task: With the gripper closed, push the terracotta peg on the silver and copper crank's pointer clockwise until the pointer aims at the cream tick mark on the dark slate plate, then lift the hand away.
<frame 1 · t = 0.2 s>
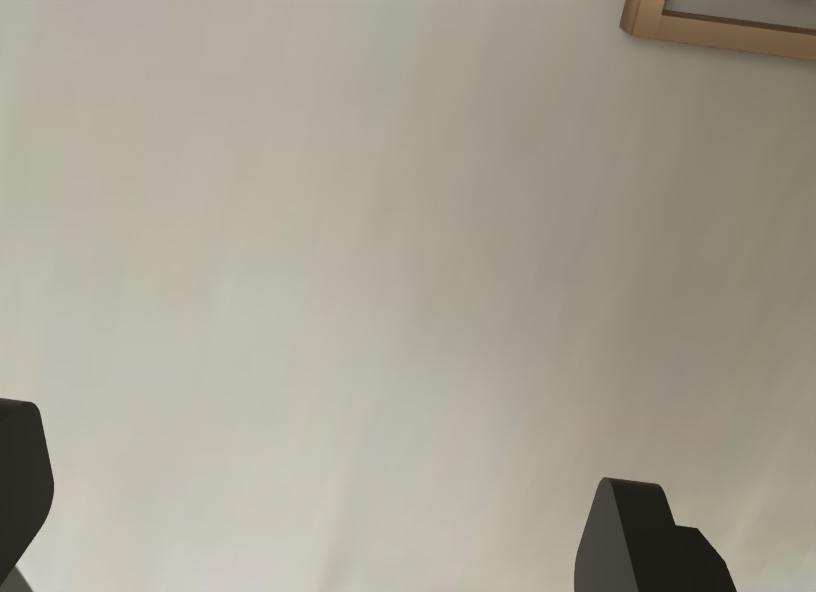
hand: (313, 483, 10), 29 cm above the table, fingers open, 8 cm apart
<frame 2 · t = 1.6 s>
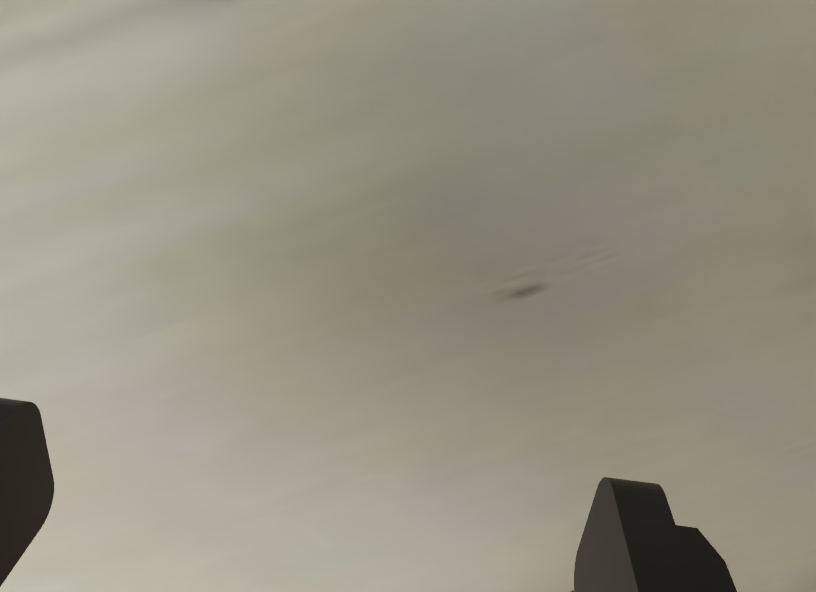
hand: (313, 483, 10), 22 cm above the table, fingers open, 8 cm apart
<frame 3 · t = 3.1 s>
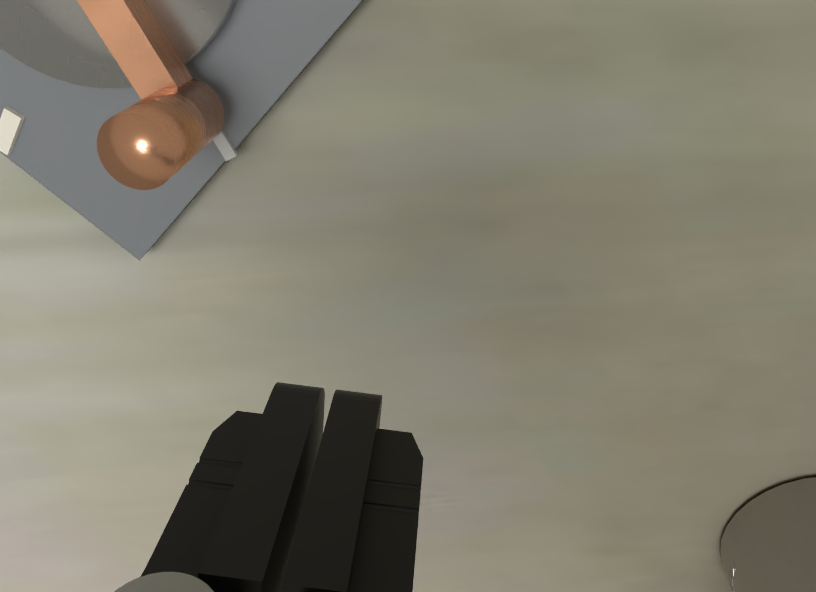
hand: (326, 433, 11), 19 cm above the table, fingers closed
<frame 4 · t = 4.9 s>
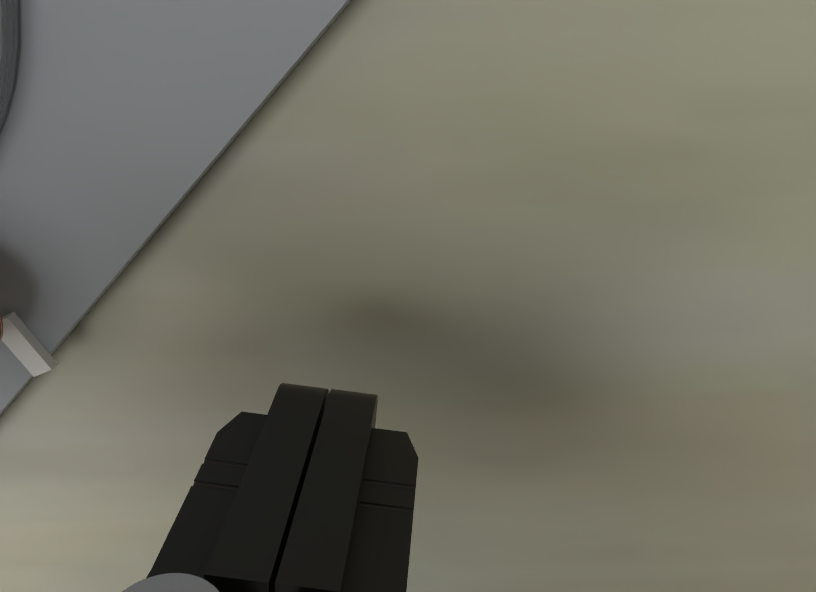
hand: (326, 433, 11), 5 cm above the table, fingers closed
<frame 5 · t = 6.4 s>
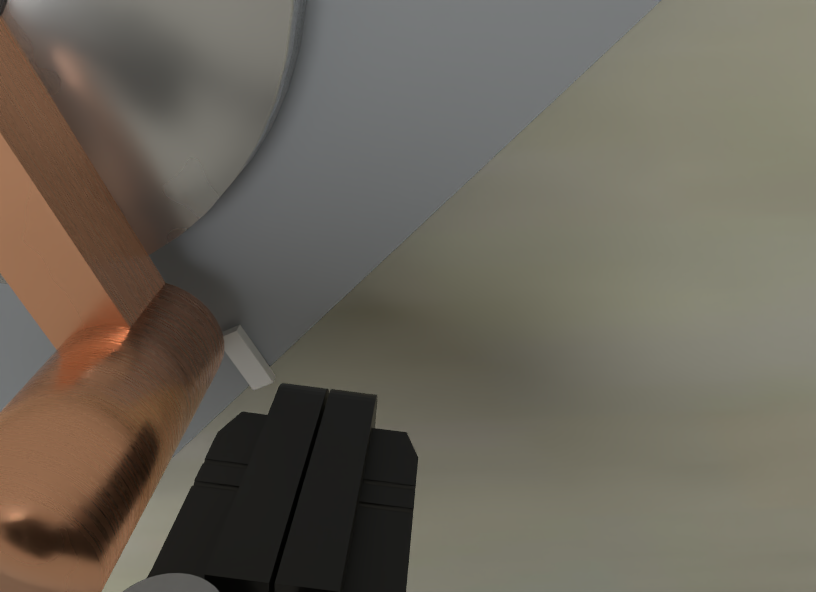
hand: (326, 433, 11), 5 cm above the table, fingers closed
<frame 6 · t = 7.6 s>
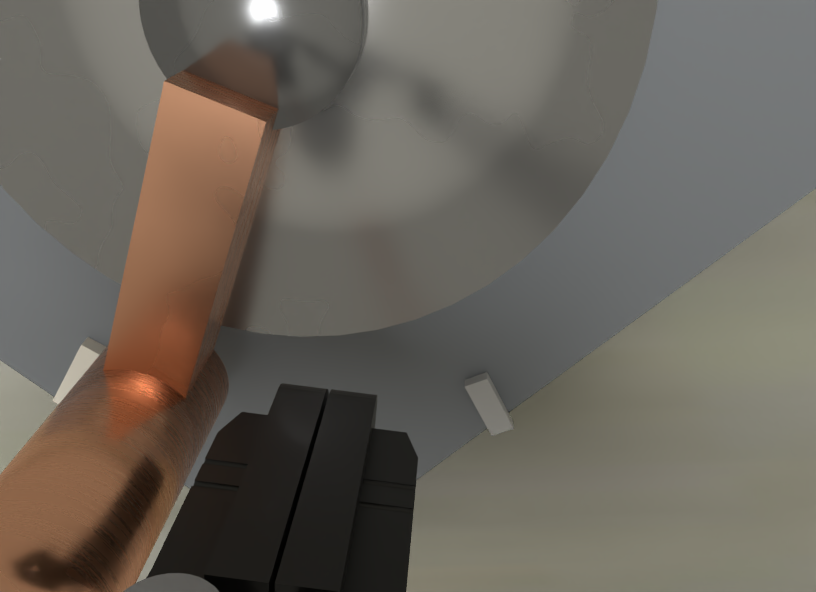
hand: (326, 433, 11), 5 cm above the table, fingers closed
silver and copper crank: (199, 134, 9), point 4 cm above the table, hinge at 42.0°, touching gripper
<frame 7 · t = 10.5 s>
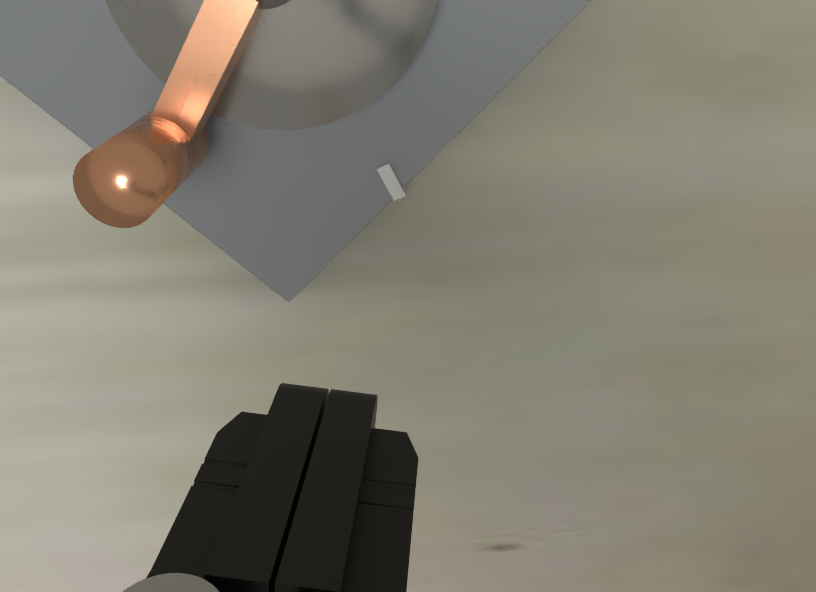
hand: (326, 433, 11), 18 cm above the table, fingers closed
silver and copper crank: (228, 0, 20), point 4 cm above the table, hinge at 30.2°
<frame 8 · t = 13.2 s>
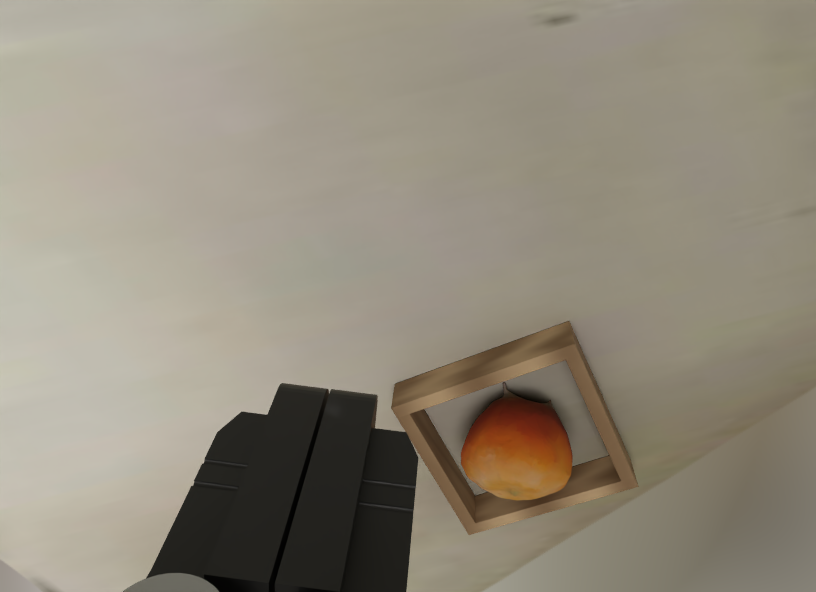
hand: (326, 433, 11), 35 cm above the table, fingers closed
fruit: (514, 420, 55), resting in wooden tray
wooden tray: (514, 422, 54), on the table
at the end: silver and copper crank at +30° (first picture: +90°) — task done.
